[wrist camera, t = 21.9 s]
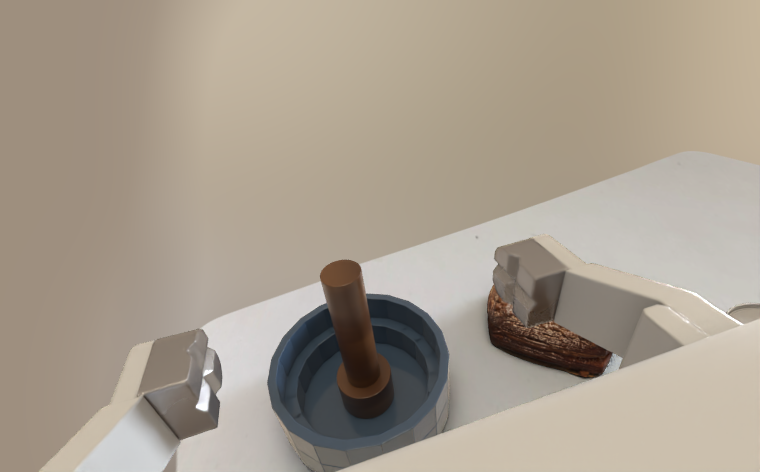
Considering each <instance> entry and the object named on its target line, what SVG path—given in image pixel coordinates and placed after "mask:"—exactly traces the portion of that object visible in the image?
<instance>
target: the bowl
mask: <svg viewBox="0 0 760 472" xmlns="http://www.w3.org/2000/svg"><path fill="white" fill-rule="evenodd" d="M366 297H367V303H368V308H369V314H370V319H371V324H372V330H373V335H374V341H375V346H376V351H377V353H379V354H381V355H382V356H383V357H384V358H386V360H387V361H388V363H389V365H390V368H391V374H392V381H393V387H394V397H393V401H392V403H391V405H390V406H389V408H388V409H387V410H386V411H385V412H384V413H382V414H381V415H379V416H377V417H375V418H371V419H361V418H357V417H355V416H353V415H351V414H350V413H349V412H348V411H347V410H346V408H345V406H344V404H343V401H342V397H341V394H340V391H339V387H338V384H337V372H338V369H339V367H340V365H341V364H342V362H343V360H342V357H341V353H340V349H339V346H338V342H337V338H336V334H335V331H334V327H333V323H332V320H331V316H330V312H329V309H328V305H327V303H326V304H323V305H321V306H319V307H317V308H316V309H314V310H313V311H311V312H310V313H308V314H307V315H305V316H304V317H302V318H301V319H300V320H299V321H298V322H297V323H296V324H295V325H294V326H293V327H292V328H291V329H290V330H289V331H288V332H287V333H286V334H285V336H284V337H283V338H282V340H281V342H280V344H279V346H278V348H277V349H276V351H275V353H274V355H273V357H272V359H271V365H270V370H269V376H268V382H267V385H268V390H269V395H270V400H271V405H272V409H273V411H274V413H275V415H276V417H277V419H278V421H279V423H280V425H281V427H282V428H283V430H284V432H285V434H286V436H287V438H288V440H289V442H290V444H291V446H292V447H293V449H294V450H295V452H296V453H297V455H298V456H299V457H300V459H301V460H302V462H303V463H304V464H305V465H306V466H307V467H309V468H310V469H312V470H313V471H315V472H336V471H339V470H342V469H344V468H347V467H350V466H353V465H355V464H358V463H361V462H364V461H366V460H369V459H372V458H375V457H378V456H380V455H383V454H386V453H389V452H391V451H394V450H397V449H400V448H402V447H405V446H408V445H411V444H414V443H416V442H419V441H422V440H425V439H427V438H430V437H433V436H436V435H438V434H441V433H442V430H443V428H444V426H445V423H446V421H447V419H448V412H449V395H450V377H449V351H448V348H447V345H446V342H445V339H444V336H443V333H442V331H441V329H440V328H439V327H438V326H437V324H436V323H435V322H434V321H433V319H432V318H431V317H430V316H429V314H428V313H426V312H425V311H423V310H422V309H420V308H419V307H417V306H416V305H414V304H412V303H411V302H409V301H406V300H403V299H400V298H396V297H393V296H390V295H381V294H366Z"/></svg>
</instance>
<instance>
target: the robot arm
mask: <svg viewBox="0 0 760 472" xmlns="http://www.w3.org/2000/svg"><path fill="white" fill-rule="evenodd" d="M494 259H495V260H496V261H497V263H498V265H497V266H496V268H495V269H494V271H493V283H494V286H495V290H496V291H497V293H498V295H499V296H500V298H501V299H502V300H503V301H504V302H506V303H509V304H511V305H513V310H512V312H513V313H514V314H515V316H516V317H517V318H518V319H519V320H520V322H521V323H522V324H523V325H524V326H525V327H526V328H530V327H533V326H537V325H540V324H544V323H547V322H551V321H554V322H555V323H556V324H558V325H560V326H562V327H564V328H566V329H568V330H570V331H572V332H574V333H576V334H578V335H580V336H581V337H583V338H585V339H587V340H589V341H591V342H593V343H595V344H597V345H599V346H601V347H603V348H605V349H606V350H608V351H610V352H612V353H614V354H616V355H618V356H620V357H622V358H623V360H622V362H621V364H620V367H619V369H618V370H616V371H613V372H610V373H608V374H605V375H602V376H599V377H596V378H594V379H591V380H588V381H585V382H583V383H580V384H577V385H574V386H571V387H569V388H566V389H563V390H560V391H558V392H555V393H552V394H549V395H547V396H544V397H541V398H538V399H535V400H533V401H530V402H527V403H524V404H522V405H519V406H516V407H513V408H510V409H508V410H505V411H502V412H499V413H497V414H494V415H491V416H488V417H486V418H483V419H480V420H477V421H474V422H472V423H469V424H466V425H463V426H461V427H458V428H455V429H452V430H449V431H447V432H444V433H441V434H438V435H436V436H433V437H430V438H427V439H425V440H422V441H419V442H416V443H414V444H411V445H408V446H405V447H402V448H400V449H397V450H394V451H391V452H389V453H386V454H383V455H380V456H378V457H375V458H372V459H369V460H366V461H364V462H361V463H358V464H355V465H353V466H350V467H347V468H344V469H342V470H339V471H336V472H760V319H757V320H755V321H752V322H749V323H746V324H741V323H740V322H738V321H737V320H735V319H733V318H732V317H730V316H729V315H727V314H726V313H724V312H723V311H721V310H720V309H718V308H717V307H715V306H714V305H712V304H711V303H709V302H707V301H706V300H704V299H703V298H701V297H700V296H698V295H697V294H695V293H694V292H692V291H688V290H685V289H681V288H678V287H674V286H671V285H667V284H664V283H660V282H657V281H653V280H650V279H646V278H643V277H639V276H636V275H632V274H629V273H625V272H622V271H618V270H615V269H611V268H608V267H604V266H601V265H597V264H594V263H590V264H586V263H585V262H584V261H582V260H581V259H580V258H578V257H577V256H576V255H574V254H573V253H572V252H571V251H569V250H568V249H567V248H565V247H564V246H563V245H561V244H560V243H559V242H558V241H556V240H555V239H554V238H552V237H551V236H550V235H547V234H542V235H539V236H535V237H532V238H529V239H526V240H522V241H519V242H515V243H512V244H508V245H505V246H501V247H497V249H496V251H495V257H494ZM207 344H208V337H207V336H206V334H205V332H204V331H203V330H202V329H196V330H192V331H188V332H184V333H180V334H177V335H172V336H168V337H164V338H160V339H157V340H154V341H150V342H146V343H142V344H138V345H135V346H134V347H133V348H132V349H131V350H130V351H129V354H128V357H127V359H126V362H125V365H124V367H123V370H122V372H121V375H120V378H119V380H118V383H117V386H116V388H115V391H114V393H113V396H112V399H111V401H110V404H109V406H106V407H103V408H101V409H100V410H99V411H98V412H97V413H96V414H95V415H94V416H93V417H92V418H91V419H90V420H89V421H88V422H87V423H86V424H85V425H84V426H83V427H82V428H81V429H80V430H79V431H78V432H77V433H76V434H75V435H74V436H73V437H72V438H71V439H70V440H69V441H68V442H67V443H66V444H65V445H64V446H63V447H62V448H61V449H60V450H59V451H58V452H57V453H56V454H55V455H54V456H53V457H52V458H51V460H49V461H48V462H47V463H46V464H45V465H44V466H43V468H42V469H40V470H39V471H38V472H163V470H164V469H165V467H166V465H167V464H168V462H169V460H170V459H171V457H172V456H173V454H174V452H175V451H176V449H177V448H178V446H179V444H180V443H181V442H180V440H183V439H186V438H188V437H191V436H194V435H197V434H200V433H203V432H206V431H209V430H211V429H214V428H217V427H218V417H219V407H220V402H219V400H218V398H217V397H216V393H217V392H218V391H219V389H220V388H221V386H222V370H221V364H220V361H219V357H218V355H217V353H216V352H215V350H213V349H211V348H208V347H207Z"/></svg>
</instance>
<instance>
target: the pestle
mask: <svg viewBox="0 0 760 472" xmlns="http://www.w3.org/2000/svg"><path fill="white" fill-rule="evenodd" d="M320 279H321V283H322V287H323V290H324V294H325V298H326V301H327V305H328V309H329V312H330V316H331V320H332V323H333V327H334V331H335V334H336V338H337V342H338V346H339V349H340V353H341V357H342V360H343V362H342V364H341V365H340V367H339V369H338V372H337V384H338V387H339V391H340V394H341V397H342V401H343V404H344V406H345V408H346V410H347V411H348V412H349V413H350V414H351V415H353V416H355V417H357V418H361V419H371V418H375V417H377V416H379V415H381V414H382V413H384V412H385V411H386V410H387V409H388V408H389V406H390V405H391V403H392V401H393V397H394V387H393V381H392V374H391V368H390V365H389V363H388V361H387V360H386V358H384V357H383V356H382V355H381V354H379V353H377V351H376V346H375V341H374V335H373V330H372V324H371V319H370V314H369V308H368V303H367V297H366V292H365V287H364V281H363V276H362V271H361V267H360V265H359V264H358V263H356V262H354V261H351V260H339V261H335V262H332V263H330V264H329V265H327V266H326V267H325V268H324V269H323V270H322V272H321V274H320Z"/></svg>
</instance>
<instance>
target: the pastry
mask: <svg viewBox="0 0 760 472" xmlns="http://www.w3.org/2000/svg"><path fill="white" fill-rule="evenodd" d="M512 310H513V305H511V304H509V303H506V302H504V301H503V300H502V299H501V298H500V296H499V295H498V293H497V291H496V290H495V286H494V285H493V286H492V289H491V291H490V294H489V297H488V304H487V314H488V328H489V335H490V340H491V343H492V344H493V345H494V346H496V347H497V348H499V349H501V350H503V351H505V352H507V353H509V354H511V355H513V356H516V357H518V358H521V359H523V360H526V361H529V362H532V363H535V364H539V365H543V366H546V367H551V368H555V369H559V370H563V371H566V372H569V373H572V374H575V375H580V376H583V377H596V376H600V375H602V373H603V372H604V370H605V368H606V367H607V365H608V363H609V362H610V358H611V356H612V354H613V353H612V352H610V351H608V350H606V349H605V348H603V347H601V346H599V345H597V344H595V343H593V342H591V341H589V340H587V339H585V338H583V337H581V336H580V335H578V334H576V333H574V332H572V331H570V330H568V329H566V328H564V327H562V326H560V325H558V324H556V323H555V322H554V321H551V322H547V323H544V324H540V325H537V326H533V327H530V328H526V327H525V326H524V325H523V324H522V323H521V322H520V320H519V319H518V318H517V317H516V316H515V314H514V313H513V312H512Z"/></svg>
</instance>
